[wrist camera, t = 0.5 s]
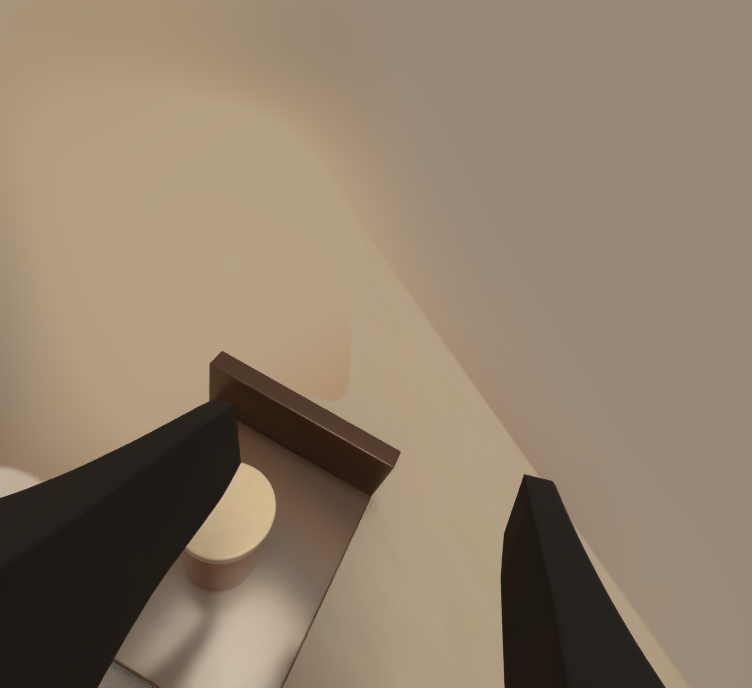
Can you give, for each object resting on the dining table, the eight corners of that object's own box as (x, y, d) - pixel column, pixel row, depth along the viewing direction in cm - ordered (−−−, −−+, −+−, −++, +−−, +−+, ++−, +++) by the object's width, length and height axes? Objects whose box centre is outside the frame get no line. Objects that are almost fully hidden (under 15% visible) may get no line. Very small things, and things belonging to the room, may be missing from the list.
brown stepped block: (250, 744, 21) (263, 758, 16) (42, 615, 22) (-9, 588, 17) (368, 494, 31) (401, 451, 26) (219, 408, 31) (222, 350, 26)
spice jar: (232, 609, 22) (239, 580, 17) (163, 567, 23) (149, 526, 17) (276, 534, 25) (294, 489, 20) (214, 497, 25) (215, 444, 20)
